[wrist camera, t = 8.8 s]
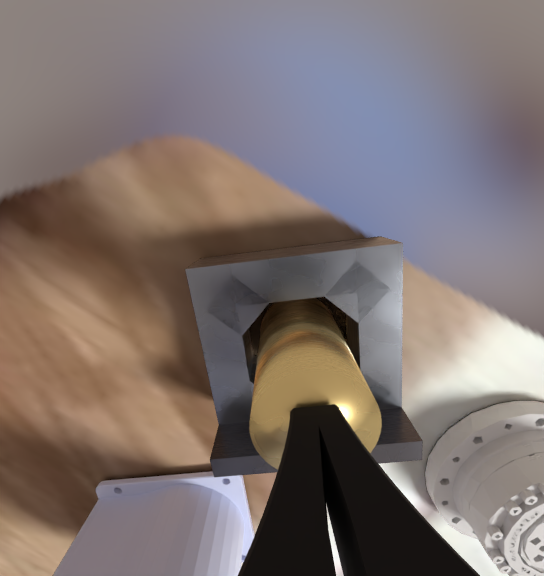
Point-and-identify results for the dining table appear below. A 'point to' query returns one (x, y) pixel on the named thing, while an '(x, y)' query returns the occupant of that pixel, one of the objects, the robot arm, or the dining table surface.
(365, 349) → the jig
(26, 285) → the dining table surface
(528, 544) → the mechanical component
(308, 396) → the brass cylinder rod
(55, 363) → the dining table surface
